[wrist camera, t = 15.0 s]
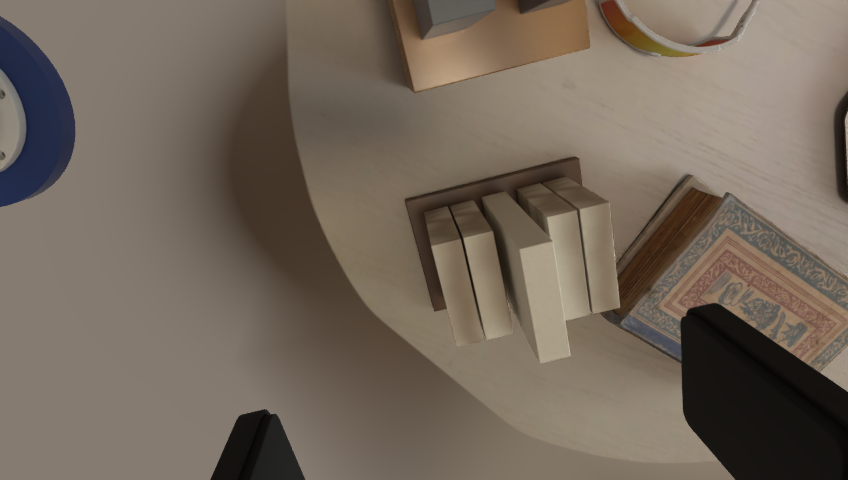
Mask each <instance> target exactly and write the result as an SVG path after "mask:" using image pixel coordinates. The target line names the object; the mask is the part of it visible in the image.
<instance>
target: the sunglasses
mask: <svg viewBox="0 0 848 480" xmlns="http://www.w3.org/2000/svg"><path fill="white" fill-rule="evenodd" d="M758 3H759V0H752V2H751V4H750V6H749V7H748V9H747V10H746V12H745V13H744V14H743V16H742V17H741V18H740V20H739V22H738V24H737V26H736V28H735V29H734V31H733V33H732V34H731V36H725V37H711V38H709V39H706V40H704V41H702V42H699V43H696V44H694V45H690V46H688V45H683V44H679V43H675V42H672V41H670V40H668V39H666V38H664V37H661V36H659V35H657V34H656V33H654V32H653V31H651V30H650V29H649V28H647V27H646V26H645V25H644V24H643V23H642V22H641V21H640V20H639V19H638V18H637V17H636V16H635V15H633V14H631V13H630V11H629V10H628V9H627V7H626V6H625V4H624V3H623V1H622V0H599V7H600V9H601V12H602V15H603V16H604V18H605V20H606V22H607V24H608V25H609V27H610V28H611V29H612V30H613V32H614V33H615V34H616V35H617V36H618V37H619V38H620V39H621V40H623V41H624V42H625V43H627V44H628V45H630V46H631V47H633V48H635V49H637V50H639V51H641V52H644V53H647V54H651V55H654V56H657V57H660V55H661V56H668V57H685V56H693V55H698V54H703V53H710V52H715V51H719V50H722V49H724V48H726V47H728V46H731V45H732V44H734V43H736V42H738V40H740V39H741V37H742V35H743V34H744V32H745V30H746V28H747V26H748V24H749V22H750V20H751V19H752V17H753V15H754V13H755V10H756V8H757V5H758Z"/></svg>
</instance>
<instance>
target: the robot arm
mask: <svg viewBox="0 0 848 480" xmlns="http://www.w3.org/2000/svg"><path fill="white" fill-rule="evenodd" d="M26 129H27V128H26V117H25V112H24V109H23V105H22V102H21V100H20V98H19V96H18V93H17V91H16V89H15V87H14V86H13V84H12V83H11V81H10V80H9V79H8V77H7V76H6V74H5V73H4V72H3V71H2V70H1V69H0V172H2V171H4V170H6V169H7V168H8V167H9V166H10V165H11V164H13V163H14V162H15V160H16V159H17V157H18V156H19V155H20V153H21V151H22V148H23V146H24V143H25V138H26ZM680 329H681V362H682V395H683V413H684V416H685V419H686V421H687V423H688V425H689V426H690V427H691V429H692V430H693V431H694V432H695V433H696V434H697V436H698V437H699V438H700V439H701V440H702V441H703V443H704V444H705V445H706V446H707V447H708V448H709V449H710V451H711V452H712V453H713V454H714V455H715V456H716V458H717V459H718V460H719V461H720V462H721V463H722V465H723V466H724V467H725V468H726V469H727V470H728V472H729V473H730V474H731V475H732V476H733V477H734V478H735V480H848V392H847V391H846V390H844V389H843V388H841V387H840V386H838V385H837V384H836V383H834V382H833V381H831V380H830V379H828V378H827V377H825V376H824V375H822V374H821V373H819V372H818V371H817V370H815V369H814V368H812V367H811V366H809V365H808V364H806V363H805V362H803V361H802V360H801V359H799V358H798V357H796V356H795V355H793V354H792V353H790V352H789V351H787V350H786V349H785V348H783V347H782V346H780V345H779V344H777V343H776V342H774V341H773V340H771V339H770V338H769V337H767V336H766V335H764V334H763V333H761V332H760V331H758V330H757V329H755V328H754V327H753V326H751V325H750V324H748V323H747V322H745V321H744V320H742V319H741V318H739V317H738V316H736V315H735V314H734V313H732V312H731V311H729V310H728V309H726V308H725V307H723V306H722V305H720V304H718V303H710V304H706V305H702V306H697V307H693V308H690V309H688V310H687V312H686V316H684V317H682V318H681V322H680ZM211 480H305V478H304V476H303V474H302V471H301V469H300V467H299V464H298V462H297V459H296V457H295V455H294V452H293V451H292V448H291V445H290V443H289V441H288V438H287V436H286V434H285V431H284V429H283V426H282V424H281V422H280V419H279V418H278V416H277V415H276V414H271V415H270V413H269V412H268V411H267V410H265V409H264V410H260V411H255V412H251V413H247V414H243V415H240V416H239V417H238V419H237V420H236V423H235V425H234V427H233V430H232V432H231V434H230V436H229V439H228V441H227V443H226V445H225V448H224V450H223V452H222V455H221V457H220V459H219V461H218V464H217V466H216V468H215V471H214V473H213V475H212V477H211Z"/></svg>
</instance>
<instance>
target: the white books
mask: <svg viewBox="0 0 848 480" xmlns="http://www.w3.org/2000/svg"><path fill="white" fill-rule="evenodd" d="M504 191H505V192H506V193H507V194H508V195H509V196H510V197H511V198H512V199H513V200H514V201H515V202H516V203H517V204H518V205H519V206H520V207H521V208H522V209H523V210H524V212H525V213H526V214H527V215H528V216H529V217H530V218H531V219H532V220H533V221H534V222H535V223H536V224H537V225H538V226H539V227H540V228H541V229H542V230H543V231H544V232H545V233H546V234H547V235H548V236H549V238H550V239H551V240H552V241H553V244H554V250H555V257H556V264H557V270H558V277H559V283H560V290H561V296H562V303H563V309H564V316H565V321H567V320H571V319H576V318H580V317H584V316H588V315H590V311H591V312H592V313H593V314H596V313H600V312H604V311H608V310H612V309H616V308H620V301H619V291H618V281H617V272H616V262H615V252H614V242H613V233H612V223H611V213H610V203H609V202H608V201H607V200H605V199H603V198H602V197H600V196H598V195H597V194H595V193H593V192H591V191H590V190H588V189H586V188H585V187H583V186H582V178H581V169H580V161H579V158H577V157H573V158H569V159H565V160H561V161H557V162H553V163H549V164H545V165H541V166H537V167H533V168H529V169H525V170H521V171H517V172H513V173H509V174H505V175H501V176H497V177H493V178H489V179H485V180H481V181H477V182H473V183H469V184H465V185H461V186H457V187H453V188H449V189H445V190H441V191H437V192H433V193H429V194H425V195H421V196H417V197H414V198H410V199H406V200H405V201H406V206H407V209H408V213H409V217H410V221H411V224H412V228H413V232H414V236H415V240H416V243H417V247H418V251H419V255H420V258H421V262H422V266H423V270H424V273H425V277H426V281H427V285H428V289H429V292H430V296H431V300H432V304H433V307H434V311H439V310H443V309H447V311H448V315H449V319H450V323H451V326H452V330H453V334H454V338H455V342H456V346H457V347H460V346H464V345H468V344H473V343H477V342H481V341H484V338H483V334H482V330H481V326H482V329H483V332H484V335H485V338H486V340H489V339H493V338H497V337H501V336H505V335H509V334H513V329H512V324H511V319H510V314H509V309H508V304H507V299H506V294H505V289H504V284H503V279H502V274H501V269H500V264H499V259H498V254H497V249H496V244H495V239H494V234H493V230H492V229H491V227H490V226H489V224H488V223H487V221H486V217H485V212H484V207H483V202H482V197H484V196H488V195H492V194H496V193H500V192H504ZM480 323H481V325H480Z"/></svg>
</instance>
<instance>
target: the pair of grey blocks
mask: <svg viewBox="0 0 848 480" xmlns="http://www.w3.org/2000/svg"><path fill="white" fill-rule="evenodd" d="M569 1H572V0H519V6H520V13H521V14H526V13H530V12H534V11H537V10H541V9H545V8H549V7H553V6H557V5H561V4H564V3H567V2H569ZM413 4H414V8H415V13H416V17H417V22H418V26H419V31H420V35H421V39H422V40H426V39H430V38H434V37H437V36H441V35H445V34H449V33H453V32H457V31H461V30H464V29H467V28H469V27H470V26H472V25H473V24H474V23H476V22H477V21H479V20H480V19H482V18H483V17H485V16H486V15H488V14H489V13H491V12H492V11H494V10H495V9H496V5H495V0H413Z"/></svg>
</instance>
